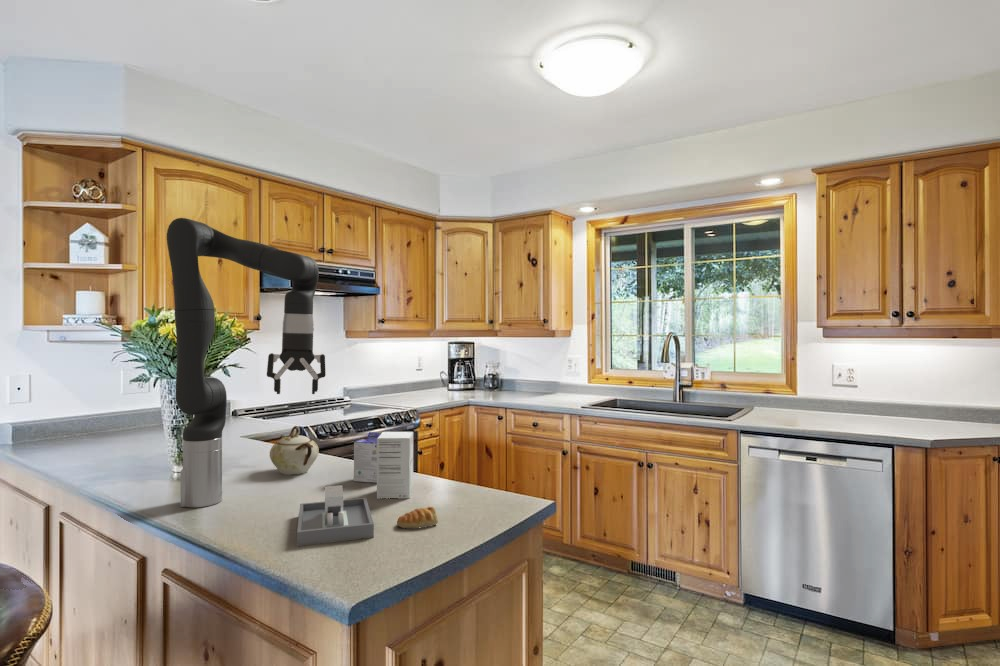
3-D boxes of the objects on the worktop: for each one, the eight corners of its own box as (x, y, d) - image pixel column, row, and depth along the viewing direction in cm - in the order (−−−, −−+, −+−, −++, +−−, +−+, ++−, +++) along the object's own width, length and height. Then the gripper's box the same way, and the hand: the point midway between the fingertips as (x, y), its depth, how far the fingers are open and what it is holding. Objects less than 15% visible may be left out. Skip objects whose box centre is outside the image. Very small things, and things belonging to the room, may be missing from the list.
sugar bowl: (331, 472, 175) (331, 426, 175) (287, 482, 164) (287, 433, 164) (300, 462, 188) (300, 419, 188) (257, 471, 177) (258, 425, 177)
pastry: (402, 533, 124) (402, 516, 124) (393, 524, 130) (393, 508, 130) (440, 526, 128) (440, 510, 128) (429, 517, 134) (429, 502, 134)
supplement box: (381, 489, 157) (381, 431, 157) (413, 488, 158) (413, 431, 158) (376, 499, 148) (376, 437, 148) (410, 498, 148) (410, 437, 148)
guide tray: (297, 546, 116) (297, 522, 116) (300, 515, 135) (300, 495, 134) (373, 537, 121) (373, 514, 121) (366, 509, 140) (366, 489, 140)
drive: (324, 526, 122) (324, 498, 122) (324, 513, 131) (324, 486, 131) (343, 525, 124) (343, 496, 123) (342, 511, 132) (342, 485, 132)
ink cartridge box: (390, 478, 168) (390, 432, 168) (383, 483, 163) (383, 435, 163) (361, 477, 170) (361, 431, 170) (353, 481, 165) (353, 434, 165)
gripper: (266, 331, 135) (265, 395, 135) (326, 332, 139) (324, 395, 139) (269, 330, 142) (268, 392, 142) (326, 332, 146) (324, 391, 147)
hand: (296, 393), depth 141 cm, fingers open, 8 cm apart
